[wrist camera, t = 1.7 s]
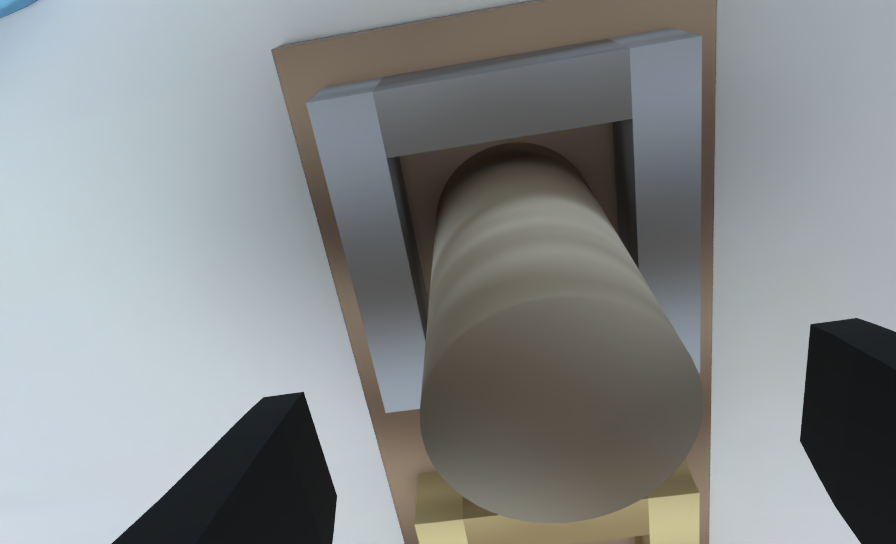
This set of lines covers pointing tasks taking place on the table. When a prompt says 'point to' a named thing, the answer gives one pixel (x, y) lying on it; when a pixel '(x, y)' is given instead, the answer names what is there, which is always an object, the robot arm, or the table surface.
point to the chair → (12, 6)
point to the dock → (480, 127)
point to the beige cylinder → (547, 348)
